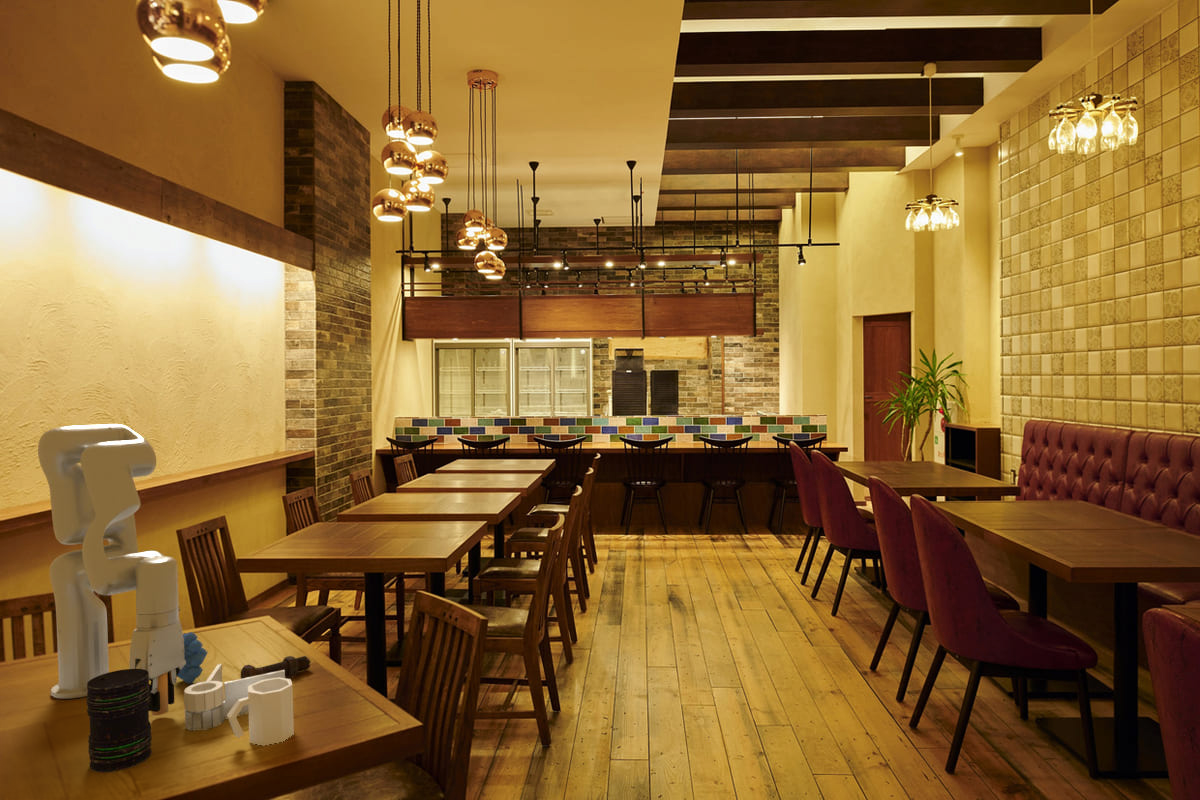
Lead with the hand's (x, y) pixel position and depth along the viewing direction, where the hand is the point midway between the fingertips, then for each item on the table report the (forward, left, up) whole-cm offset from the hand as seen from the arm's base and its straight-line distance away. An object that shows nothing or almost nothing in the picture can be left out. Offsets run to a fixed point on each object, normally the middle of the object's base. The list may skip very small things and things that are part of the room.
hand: (159, 706), depth 161 cm
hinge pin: (0, 0, -1) cm, 1 cm away
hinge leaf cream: (+4, +9, -2) cm, 10 cm away
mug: (+24, +15, -3) cm, 28 cm away
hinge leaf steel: (+9, +13, -2) cm, 16 cm away
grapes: (-18, +8, -3) cm, 20 cm away
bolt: (-8, +25, -3) cm, 26 cm away
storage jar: (+17, -8, -3) cm, 18 cm away
